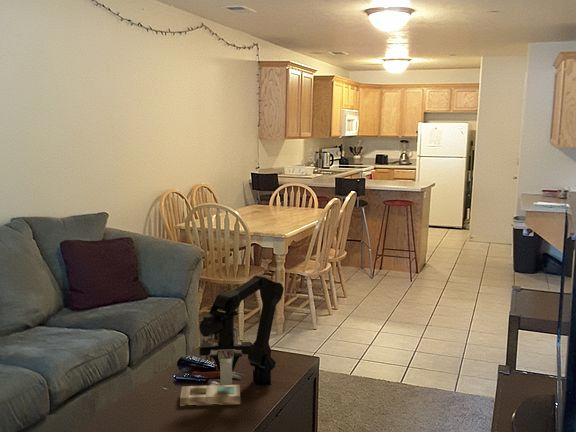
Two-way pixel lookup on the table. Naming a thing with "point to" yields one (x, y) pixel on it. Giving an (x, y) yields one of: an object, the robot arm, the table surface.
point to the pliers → (216, 374)
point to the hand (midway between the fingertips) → (226, 371)
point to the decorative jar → (215, 343)
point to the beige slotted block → (210, 395)
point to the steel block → (225, 371)
